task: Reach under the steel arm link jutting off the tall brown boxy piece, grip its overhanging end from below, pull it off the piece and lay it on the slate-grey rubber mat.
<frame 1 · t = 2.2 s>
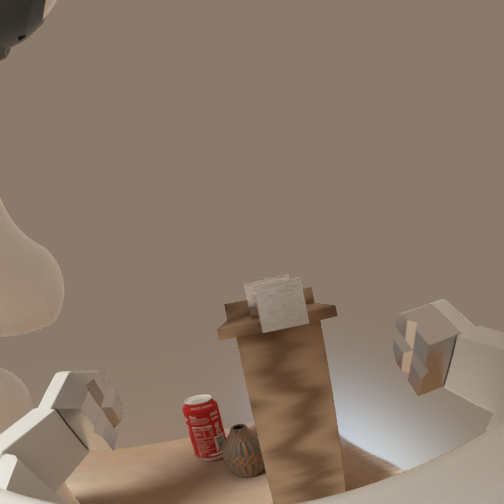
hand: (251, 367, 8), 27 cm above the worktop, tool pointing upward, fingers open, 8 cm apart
vase: (249, 472, 43), on the worktop
steel link: (276, 318, 29), point 26 cm above the worktop, touching brown boxy piece
beverage can: (213, 456, 51), on the worktop
brown boxy piece: (309, 502, 32), on the worktop
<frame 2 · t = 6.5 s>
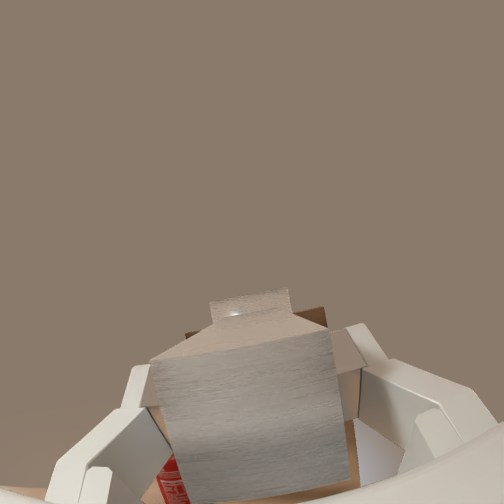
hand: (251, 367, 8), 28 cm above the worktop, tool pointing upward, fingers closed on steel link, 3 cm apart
steel link: (262, 381, 14), point 26 cm above the worktop, touching gripper, brown boxy piece
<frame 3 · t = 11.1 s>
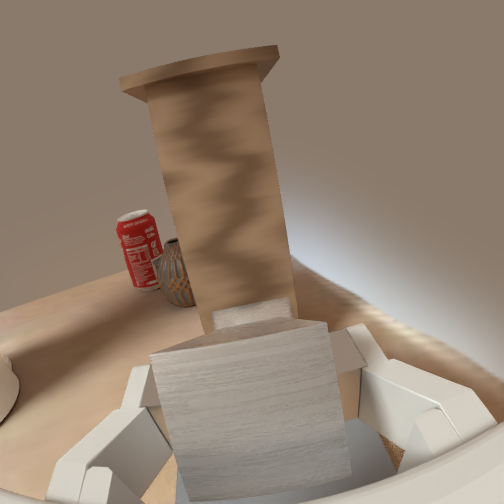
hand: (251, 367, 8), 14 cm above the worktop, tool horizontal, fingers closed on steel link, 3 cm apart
vase: (190, 301, 44), on the worktop
steel link: (263, 389, 13), point 10 cm above the worktop, tilted 31°, touching gripper
slate mat: (282, 477, 17), on the worktop
beverage can: (153, 285, 52), on the worktop
brown boxy piece: (255, 338, 33), on the worktop
when the fingers open (11 cm above the worktop, at t = 12.1 s): steel link drops 6 cm, resting on slate mat.
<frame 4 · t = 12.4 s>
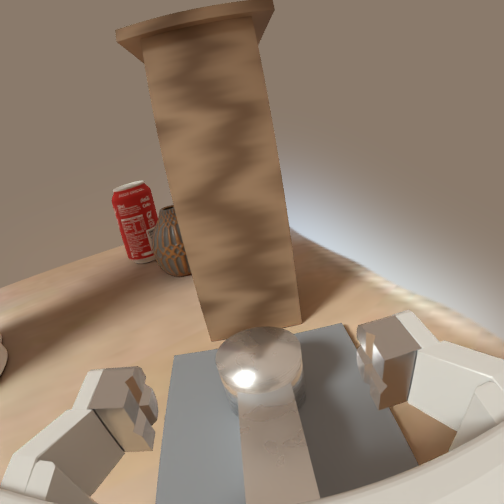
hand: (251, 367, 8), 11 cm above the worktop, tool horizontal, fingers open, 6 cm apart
vase: (185, 271, 43), on the worktop
steel link: (281, 478, 14), point 1 cm above the worktop, touching slate mat
slate mat: (277, 446, 16), on the worktop
beverage can: (148, 258, 51), on the worktop
brown boxy piece: (251, 304, 32), on the worktop
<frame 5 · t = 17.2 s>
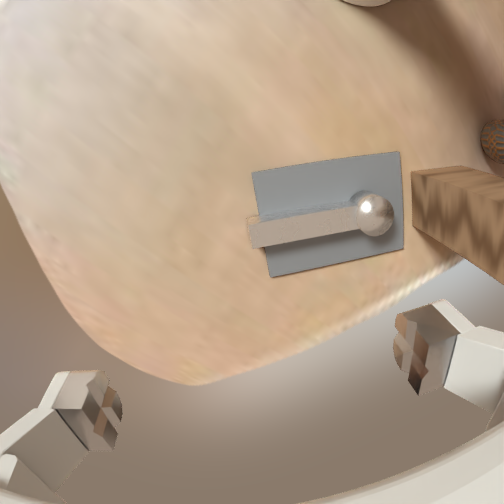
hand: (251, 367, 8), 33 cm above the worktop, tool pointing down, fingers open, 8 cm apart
vase: (487, 139, 39), on the worktop
steel link: (317, 216, 41), point 1 cm above the worktop, touching slate mat
slate mat: (335, 212, 42), on the worktop
brown boxy piece: (438, 194, 42), on the worktop
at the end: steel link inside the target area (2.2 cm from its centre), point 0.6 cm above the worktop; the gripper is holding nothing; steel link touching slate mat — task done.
